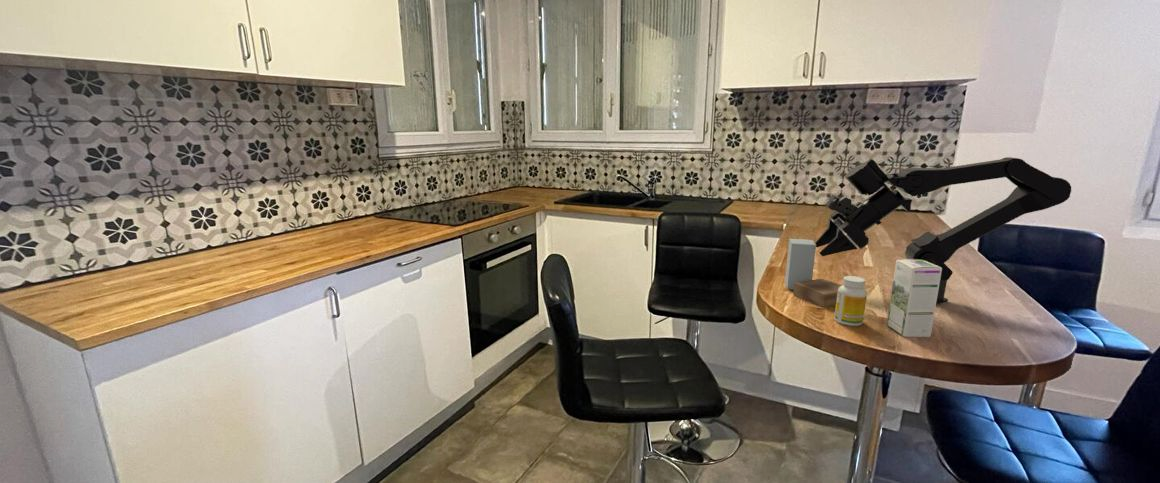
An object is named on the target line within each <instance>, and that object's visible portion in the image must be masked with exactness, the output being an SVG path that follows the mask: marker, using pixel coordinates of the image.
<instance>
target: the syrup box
mask: <svg viewBox="0 0 1160 483" xmlns="http://www.w3.org/2000/svg"><path fill="white" fill-rule="evenodd" d="M941 272H942V267H939V266H937V265H934V264H932V263H929V262H927V261H924V260H920V259H907V258H905V259H896V261H895V267H894V273H893V274H894V275H893V280H892V286H891V287H892V288H891V293H890V301H889V309H888V314H887V315H888V316H887V323H886V326H887V327H888V328H890V329H891V330H893V331H894V332H896V333H897V334H899V335H900V336H902V337H904V338H931V337H932V330H933V325H934V318H935V312H936V308H937V307H936V306H937V303H936V302H937V296H938V290H939V284H940V278H941Z"/></svg>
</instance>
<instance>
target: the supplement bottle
mask: <svg viewBox="0 0 1160 483" xmlns="http://www.w3.org/2000/svg"><path fill="white" fill-rule="evenodd" d="M865 287H866V279H865V278H863V277H860V276H855V275H845V276H844V277H843V280H842V286H840V287H839V289H838V294H837V301H836V305H835V307H834V308H835V309H834V317H833V318H834V320H835V321H836V322H837V323H839V324H841V325H844V326H849V327H858V326H861V325H863V321H864V317H865V310H866V305H867V298H868V292H867V290H866V289H865Z"/></svg>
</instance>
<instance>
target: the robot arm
mask: <svg viewBox="0 0 1160 483" xmlns="http://www.w3.org/2000/svg"><path fill="white" fill-rule="evenodd" d="M844 178H845V179H846V180H847V182H849V184H850V185H851V186H852V187H854V189H855V190H856V191H857V192H859V194H860V195H868V196H870V197H868V198H867V199H866V200H864V201H863V202H862V201H857V202H856V203H852V199H850V198H848V197H846V196H842V197H839V196H837V195H835V194H831V196H830V197H829V199H828V201H826V203H825V205H824V206H825V207H827V208H828V209H829V210H831V211H834V212H832V213H831V214H830V215H829V218H828V220H827V221H828V224H827V228H826V229H825V230H824V231H823V233H822V234H821V235H820V237H818V239H817V240H816V241H815V242H814V243H815V244H816V248H819V247H822V246H824V247H823V249H821V251H820V252H819V255H820V256H821V257H826V256H830V255H834V254H838V253H843V252H847V251H848V252H849V251H853V250H858V248H859V249H860V250H862V249H863V248H865V247H866V246H867V245H869V237H868V236H867V233H866V231H868V230H869V229H871V228H872V227H873V226H874V225H876V226H879V225H881V224H882V221H881V220H884V218H886V217H888V216H889V215H890V214H891V213H894V211H896V210H897V209H898V208H902V209H903V210H905V211H906V212H911V209H912V208H911V207H912V202H913V200H912V198H906V197H904V196H903V195H902V194H901V192H903V193H904V194H908V195H910V196H921V195H924V194H928V193H930V192H931V193H932V192H935V191H937V190H939V189H942V188H944V187H948V186H953V185H954V186H955V185H960V184H968V183H973V182H974V183H975V182H981V181H988V180H993V179H995V180H996V179H1001V178H1002V179H1003V178H1006V179H1007V180H1008V181H1010V183H1012V184H1013V185H1015V186H1016V187H1015V188H1014V190H1012V191H1011V193H1010V194H1009V195H1008V196H1007V198H1005V199H1003V200H1002V201H1000V202H997V203H996V204H994V205H993V206H991V207H989V208H987V209H985V210H983V211H982V212H980V213H978V214H976V215H974V216H972V217H970V218H968V219H967V220H965V221H962V222H961V223H959V224H958V225H956V226H954V227H952V228H951V229H950V228H949V230H946V231H945V232H943V233H940V234H934V233H932V232H930V231H926V232H924V233H922V234H921V235H920V236H919V237H916V238H913V239H910V241H911V242H910V243H909V244H908V245H907V246H906V247H905V248H906V249H905V251H904V255H905V259H920V260H924V261H927V262H929V263H932V264H934V265H937V266H939V267H942V272H941V278H940V284H939V290H938V296H937V302H936V304H938V303H943V302H944V303H945V302H948V301H949V298H947V297H945V293H946V289H947V288H946V287H947V282H948V280H949V279H950V278H951V276H952V274H953V270H951V268H950V267H949V266H948V265H946V264H945V263H946V262H947V261H949V260H950V259H951V258H952V256H953V255H954V254H955V253H956V252H957V250H959V249H961V248H963V247H965V246H966V245H968V244H970V243H972V242H974V241H976V240H978V239H979V238H982V237H984V236H986V235H987V234H989V233H991V232H993V231H995V230H996V229H999V228H1001V227H1002V226H1004V225H1006V224H1008V223H1010V222H1011V221H1014V220H1016V219H1017V218H1020V217H1021V216H1023V215H1026V214H1030V213H1035V212H1039V211H1043V210H1047V209H1051V208H1052V207H1055V206H1057V205H1061V204H1063V203H1064V202H1066V201H1067V200H1069V199H1070V198H1071V193H1072V186H1071V183H1070V182H1069V181H1068V180H1067V179H1064V178H1060V177H1058V176H1057V177H1055V176H1051V175H1049V174H1048V173H1046V172H1045V171H1043V170H1040V169H1037V167H1034V166H1033V165H1030V164H1029V163H1028V162H1026V161H1025V160H1023V159H1022V158H1018V157H1009V156H1007V157H1004V158H1000V159H995V160H994V159H993V160H988V161H987V160H986V161H982V162H974V163H968V164H962V165H955V166H949V167H942V168H937V167H936V168H935V167H907V168H903V169H902V170H900V171H899V172H896V173H885V172H884V171H883V170H882V169H881V168H880V167H879V166H878V164H877V162H876V161H875V160H874V159H872V158H869V159H868V160H866V161H865V162H862V163H861V164H859V165H857V166H854V167H853V168H852V169H851V170H849V171H848V172H847V173H846V175H845V176H844ZM888 185H890V186H893V187H895V188H897V189H893V190H891V189H890V188H889V186H888ZM900 191H901V192H900ZM825 245H826V246H825Z"/></svg>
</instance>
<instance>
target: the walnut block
mask: <svg viewBox="0 0 1160 483" xmlns="http://www.w3.org/2000/svg"><path fill="white" fill-rule="evenodd" d="M840 286H843V284H838V283H836V282H833V281H831V280H827V279H825V278H818V279H817V278H816V279H812V280H809V281H803V282H796V283H794V290H793V294H792V296H794V297H797V298H800V299H802V300H804V301H807V302H809V303H811V304H815V305H816V306H819V307H821V308H826V307H833V306H836V301H837V294H838V289H839V287H840Z"/></svg>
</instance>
